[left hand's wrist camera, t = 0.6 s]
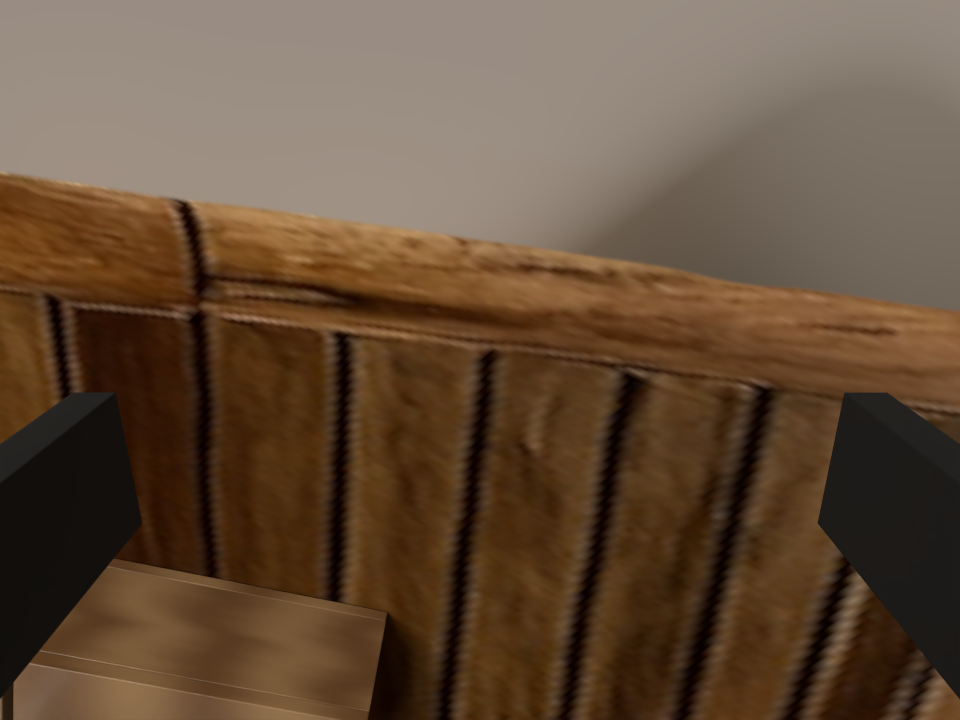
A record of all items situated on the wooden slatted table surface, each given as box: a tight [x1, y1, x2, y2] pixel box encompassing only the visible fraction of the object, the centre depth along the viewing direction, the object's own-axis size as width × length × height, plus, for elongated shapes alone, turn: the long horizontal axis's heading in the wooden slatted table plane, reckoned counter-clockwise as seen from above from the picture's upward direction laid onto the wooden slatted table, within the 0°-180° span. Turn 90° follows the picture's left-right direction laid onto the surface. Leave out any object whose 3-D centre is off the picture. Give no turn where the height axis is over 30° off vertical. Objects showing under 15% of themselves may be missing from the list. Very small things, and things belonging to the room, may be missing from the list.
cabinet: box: [13, 558, 387, 720], centre depth 44 cm, size 20×10×9 cm, turn 76°
